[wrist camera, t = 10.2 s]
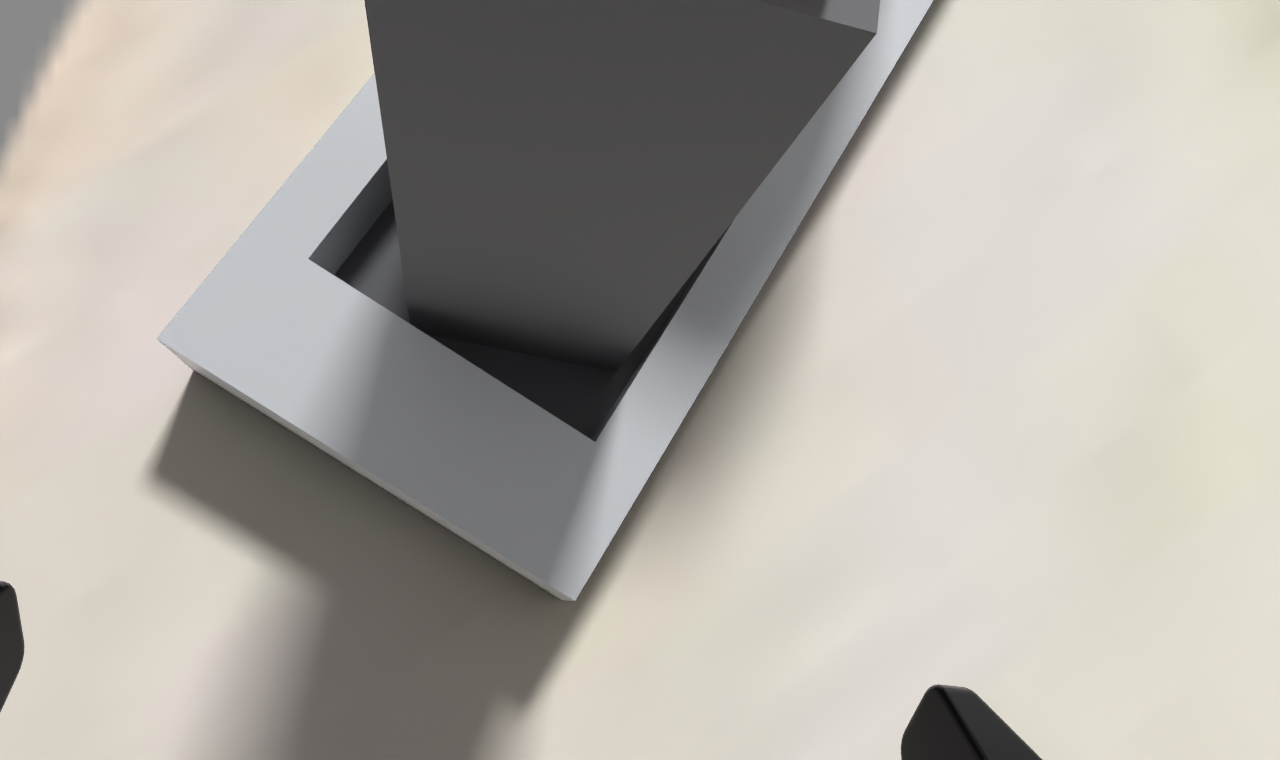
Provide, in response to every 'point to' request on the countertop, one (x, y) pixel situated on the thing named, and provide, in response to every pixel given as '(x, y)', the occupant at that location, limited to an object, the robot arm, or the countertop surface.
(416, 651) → the countertop surface
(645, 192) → the orange grey tall block
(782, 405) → the countertop surface
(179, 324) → the light grey recessed block
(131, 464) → the countertop surface
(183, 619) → the countertop surface
